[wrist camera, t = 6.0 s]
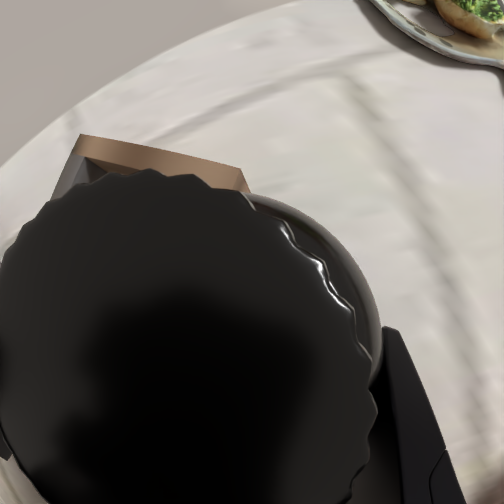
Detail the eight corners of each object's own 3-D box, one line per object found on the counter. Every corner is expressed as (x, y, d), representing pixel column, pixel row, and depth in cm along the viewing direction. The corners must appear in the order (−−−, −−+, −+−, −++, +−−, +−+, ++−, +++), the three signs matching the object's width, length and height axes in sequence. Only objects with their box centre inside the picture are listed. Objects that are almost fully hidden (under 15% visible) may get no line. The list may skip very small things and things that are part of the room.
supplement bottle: (176, 269, 15) (-50, 184, 3) (317, 237, 15) (369, 23, 3) (204, 407, 14) (30, 560, 2) (347, 382, 13) (470, 566, 1)
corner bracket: (250, 192, 16) (240, 168, 13) (188, 365, 15) (164, 378, 12) (106, 155, 18) (80, 134, 15) (54, 294, 17) (21, 291, 14)
